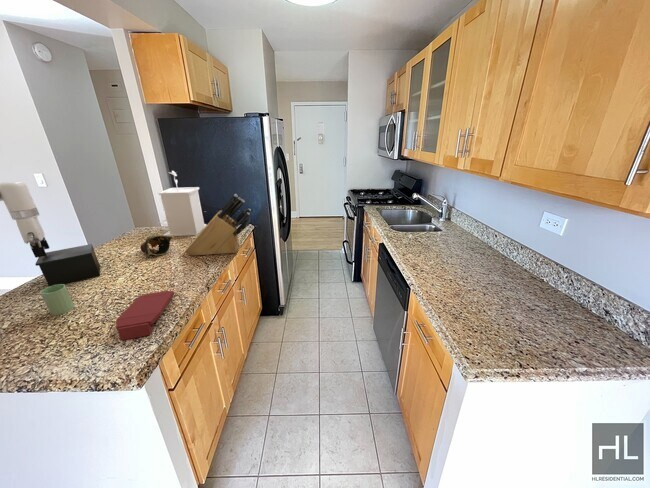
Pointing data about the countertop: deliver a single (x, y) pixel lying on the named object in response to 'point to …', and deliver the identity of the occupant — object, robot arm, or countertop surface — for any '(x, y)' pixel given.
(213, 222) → the knife block
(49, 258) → the lid
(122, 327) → the carton
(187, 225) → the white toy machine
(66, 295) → the cup
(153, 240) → the pot
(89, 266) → the box
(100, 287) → the countertop surface
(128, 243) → the countertop surface
